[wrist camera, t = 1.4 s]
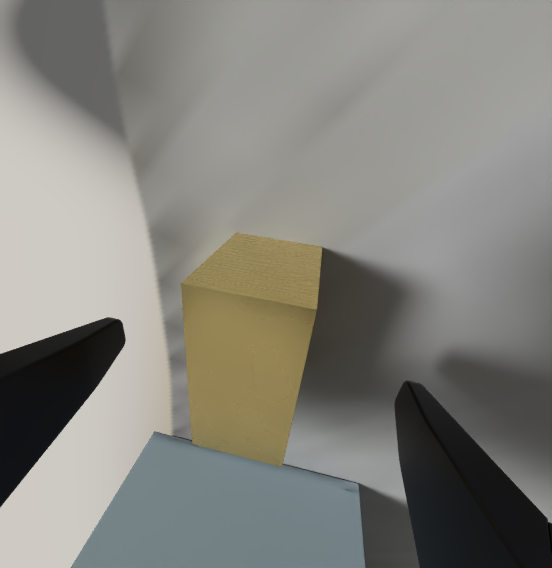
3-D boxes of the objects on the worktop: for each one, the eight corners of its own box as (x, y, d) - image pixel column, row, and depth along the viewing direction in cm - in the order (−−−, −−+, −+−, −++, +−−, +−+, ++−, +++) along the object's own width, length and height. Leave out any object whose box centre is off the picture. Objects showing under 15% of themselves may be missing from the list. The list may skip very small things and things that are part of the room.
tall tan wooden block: (322, 246, 9) (316, 309, 6) (296, 372, 12) (282, 467, 8) (237, 231, 9) (181, 283, 6) (231, 358, 12) (192, 443, 9)
